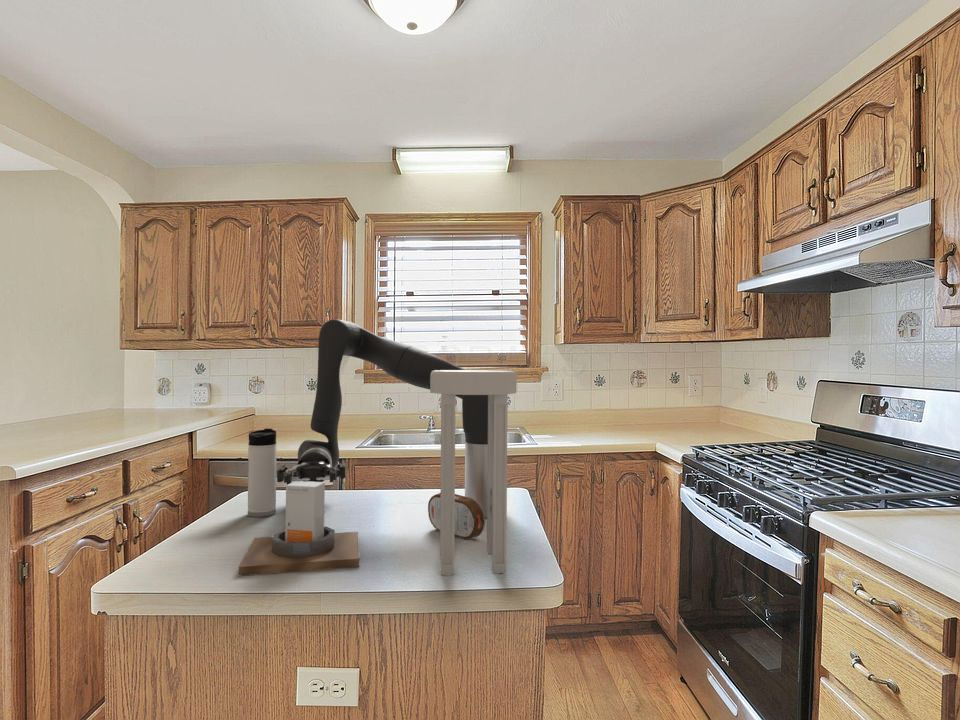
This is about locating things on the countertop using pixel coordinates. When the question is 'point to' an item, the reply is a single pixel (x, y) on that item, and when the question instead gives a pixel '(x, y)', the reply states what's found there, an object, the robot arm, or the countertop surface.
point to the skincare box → (304, 511)
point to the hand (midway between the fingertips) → (310, 478)
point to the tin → (459, 516)
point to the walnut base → (267, 562)
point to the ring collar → (302, 545)
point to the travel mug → (262, 473)
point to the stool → (497, 391)
